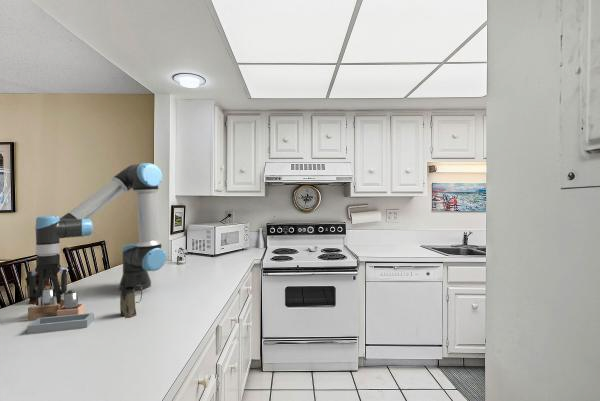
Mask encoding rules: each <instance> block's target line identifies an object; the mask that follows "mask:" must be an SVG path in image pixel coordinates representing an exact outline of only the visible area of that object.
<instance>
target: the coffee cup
mask: <svg viewBox="0 0 600 401" xmlns="http://www.w3.org/2000/svg"><path fill="white" fill-rule="evenodd" d="M35 276H36V291H37V287H38V283H39V277H40V276H39V275H38V274H37V272H36V275H35ZM49 279H50V278H46V279H45V283H44V287H43V289H44V288H45V287H47V286H49V284H48V283H49ZM24 280H25V282H26V285H25V287H26V291H27V297H28V299H29V300H28V304H30V305H31V304H33V305H34V304H36V298H35V297H33V296H32V297H31V296H30V291H29V277H28V275H27V276H26V278H25V279H24ZM41 296H42V295H41Z"/></svg>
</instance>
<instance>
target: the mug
mask: <svg viewBox="0 0 600 401" xmlns="http://www.w3.org/2000/svg"><path fill="white" fill-rule="evenodd" d="M136 286H140V287H141V289H140V300H139V301H136V290H135V287H125V288H122V289H121V290H120V297H119V298H120V301H119V305H120V306H119V307H120V309H119V310H120V316H121V317H124V318H125V319H130V318H134V317H135V316H137V309H136V303H137V304H140V302H141V301H142V298H143V297H142V296H143V289H142V286H141V285H136Z"/></svg>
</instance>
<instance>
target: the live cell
mask: <svg viewBox="0 0 600 401" xmlns="http://www.w3.org/2000/svg"><path fill="white" fill-rule="evenodd" d="M52 286H53V285H48V286H47V287H45V288H44V289H42V306H44V305H54V296H55V295H56V294H55V290H54V287H52Z"/></svg>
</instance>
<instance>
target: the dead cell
mask: <svg viewBox="0 0 600 401" xmlns="http://www.w3.org/2000/svg"><path fill="white" fill-rule="evenodd" d="M63 299H64V310H67V309H77V308H78V304H79V291H78V290H75V289H69V290H67V292H66V293H64V294H63Z"/></svg>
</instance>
